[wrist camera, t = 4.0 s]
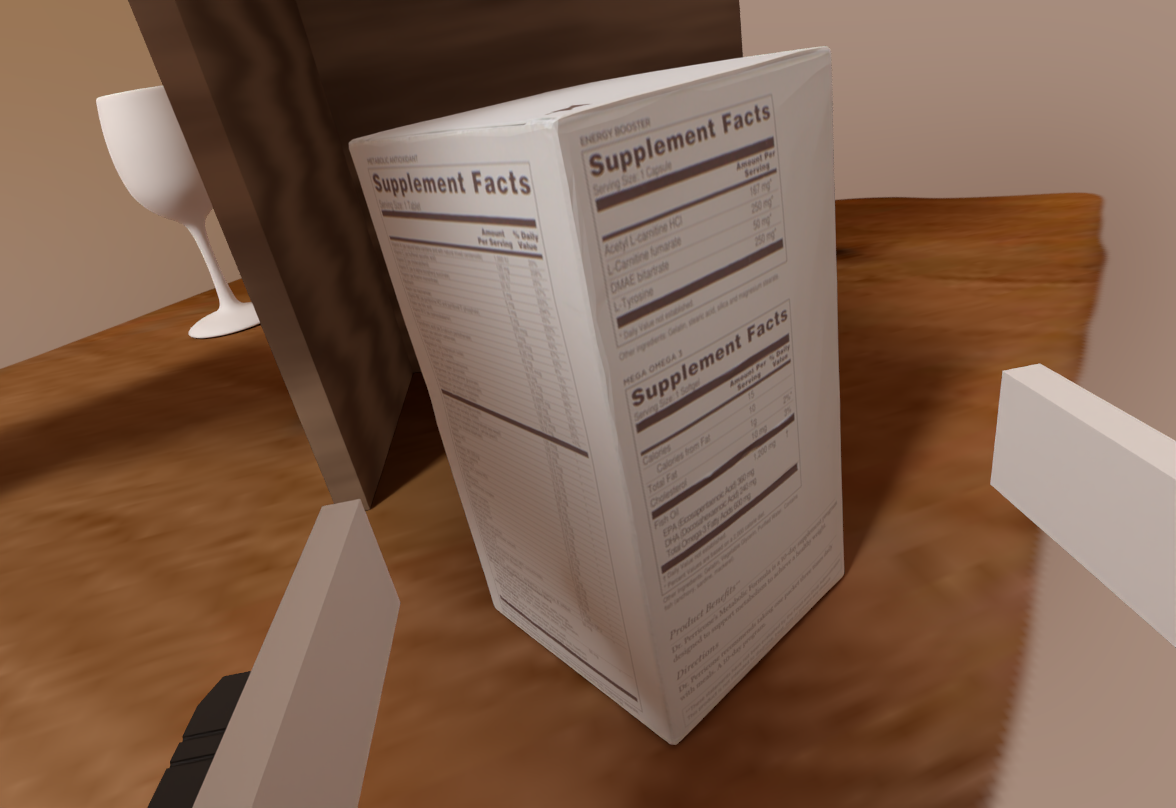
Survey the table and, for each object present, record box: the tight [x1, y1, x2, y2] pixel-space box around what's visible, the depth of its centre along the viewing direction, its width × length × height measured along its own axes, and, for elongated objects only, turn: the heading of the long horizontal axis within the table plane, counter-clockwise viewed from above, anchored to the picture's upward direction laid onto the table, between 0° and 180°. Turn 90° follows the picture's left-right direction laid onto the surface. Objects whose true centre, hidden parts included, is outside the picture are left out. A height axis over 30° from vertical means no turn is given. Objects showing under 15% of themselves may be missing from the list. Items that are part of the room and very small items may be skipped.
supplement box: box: [349, 46, 844, 745], centre depth 21 cm, size 10×9×17 cm
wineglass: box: [96, 86, 260, 338], centre depth 64 cm, size 9×9×21 cm
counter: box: [128, 0, 743, 510], centre depth 35 cm, size 18×26×32 cm
